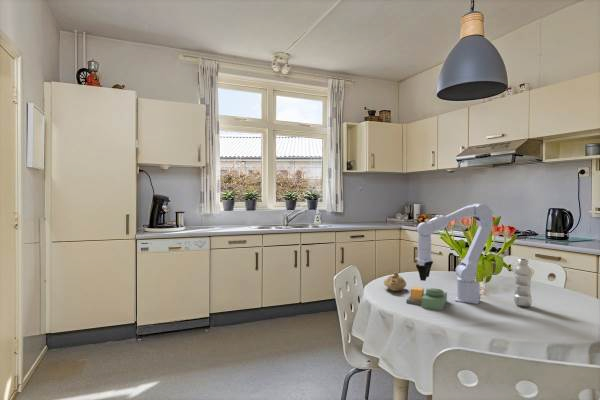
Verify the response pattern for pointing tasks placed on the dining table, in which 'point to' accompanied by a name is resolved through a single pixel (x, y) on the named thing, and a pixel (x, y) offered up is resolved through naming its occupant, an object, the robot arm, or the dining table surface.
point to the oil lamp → (395, 282)
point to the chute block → (417, 293)
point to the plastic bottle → (522, 284)
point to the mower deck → (431, 299)
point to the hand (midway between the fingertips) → (424, 278)
